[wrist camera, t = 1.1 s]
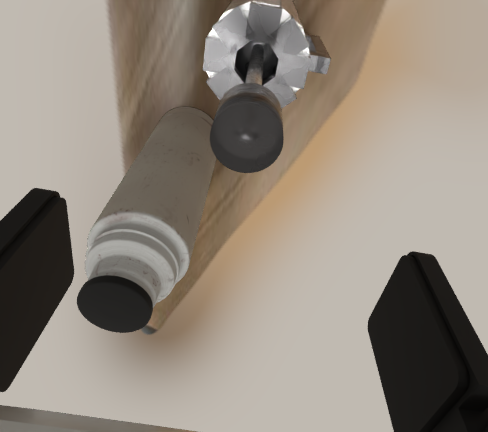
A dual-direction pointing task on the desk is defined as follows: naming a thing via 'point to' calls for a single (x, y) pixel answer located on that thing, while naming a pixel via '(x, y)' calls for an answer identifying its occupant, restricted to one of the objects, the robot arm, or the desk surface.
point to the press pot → (267, 31)
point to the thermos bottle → (149, 224)
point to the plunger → (249, 115)
